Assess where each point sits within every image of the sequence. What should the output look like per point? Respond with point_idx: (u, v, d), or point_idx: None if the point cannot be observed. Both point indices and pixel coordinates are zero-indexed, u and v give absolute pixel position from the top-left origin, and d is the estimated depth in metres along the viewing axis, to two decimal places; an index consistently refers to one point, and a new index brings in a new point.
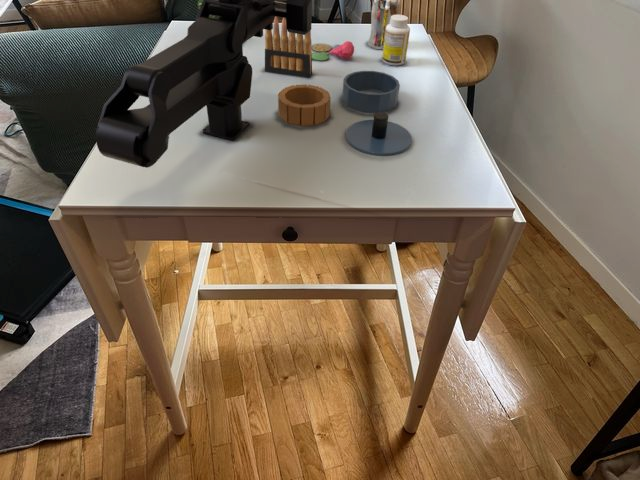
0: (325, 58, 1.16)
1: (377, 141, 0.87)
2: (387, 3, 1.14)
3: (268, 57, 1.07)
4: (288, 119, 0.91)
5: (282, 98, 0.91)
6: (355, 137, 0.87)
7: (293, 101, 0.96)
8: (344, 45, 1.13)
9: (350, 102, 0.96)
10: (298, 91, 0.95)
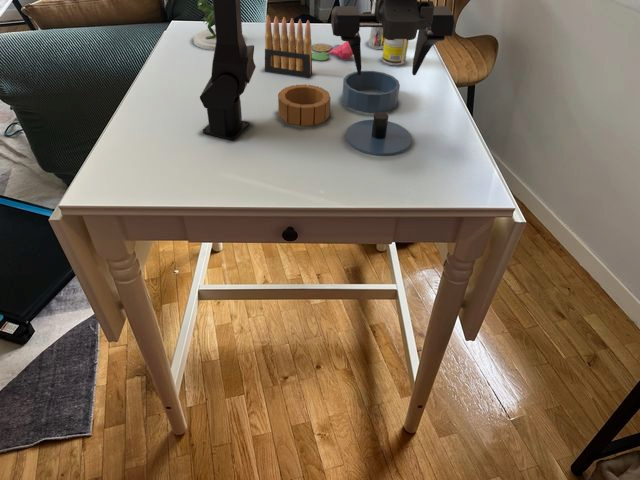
0: (325, 58, 1.16)
1: (377, 141, 0.87)
2: None
3: (268, 57, 1.07)
4: (288, 119, 0.91)
5: (282, 98, 0.91)
6: (355, 137, 0.87)
7: (293, 101, 0.96)
8: (344, 45, 1.13)
9: (350, 102, 0.96)
10: (298, 91, 0.95)
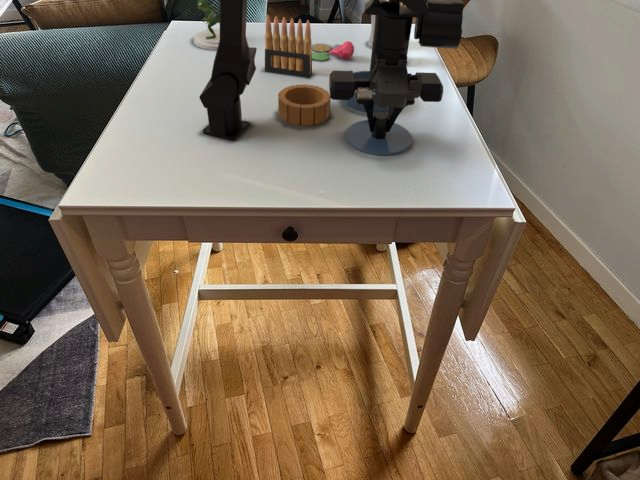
0: (325, 58, 1.16)
1: (377, 141, 0.87)
2: None
3: (268, 57, 1.07)
4: (288, 119, 0.91)
5: (282, 98, 0.91)
6: (355, 137, 0.87)
7: (293, 101, 0.96)
8: (344, 45, 1.13)
9: (350, 102, 0.96)
10: (298, 91, 0.95)
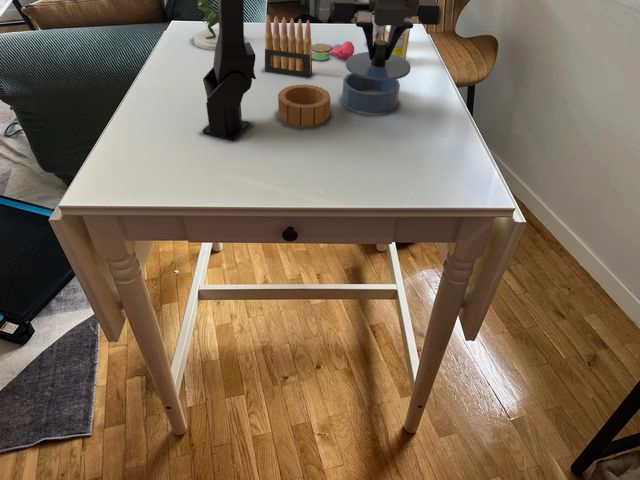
0: (325, 58, 1.16)
1: (377, 68, 0.88)
2: None
3: (268, 57, 1.07)
4: (288, 119, 0.91)
5: (282, 98, 0.91)
6: (355, 65, 0.89)
7: (293, 101, 0.96)
8: (344, 45, 1.13)
9: (350, 102, 0.96)
10: (298, 91, 0.95)
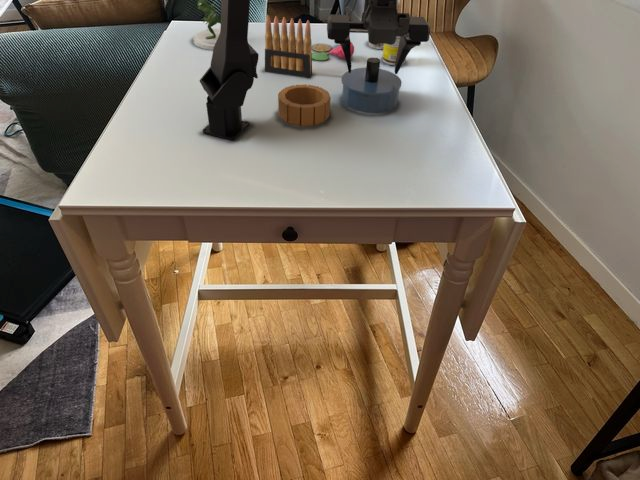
0: (325, 58, 1.16)
1: (370, 84, 0.95)
2: None
3: (268, 57, 1.07)
4: (288, 119, 0.91)
5: (282, 98, 0.91)
6: (350, 81, 0.96)
7: (293, 101, 0.96)
8: None
9: (350, 102, 0.96)
10: (298, 91, 0.95)
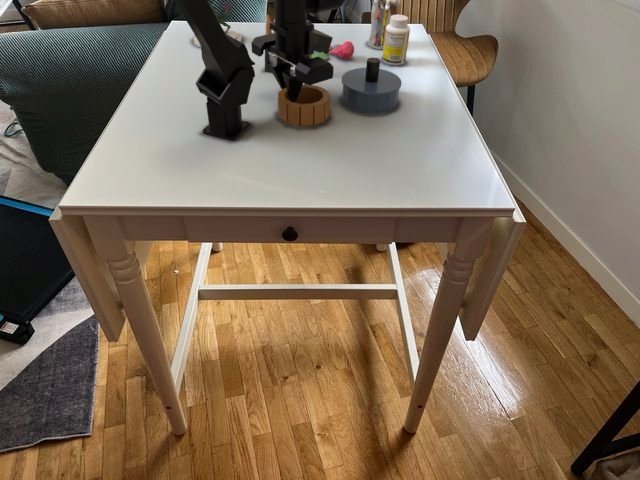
0: (325, 58, 1.16)
1: (370, 84, 0.95)
2: (387, 3, 1.14)
3: (268, 57, 1.07)
4: (288, 118, 0.91)
5: (282, 98, 0.91)
6: (350, 81, 0.96)
7: None
8: (344, 45, 1.13)
9: (350, 102, 0.96)
10: None
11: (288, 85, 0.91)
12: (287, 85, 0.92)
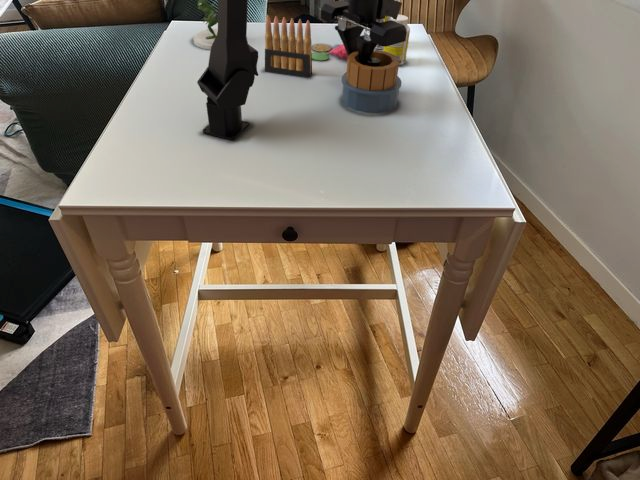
0: (325, 58, 1.16)
1: None
2: None
3: (268, 57, 1.07)
4: (358, 81, 0.93)
5: (352, 61, 0.93)
6: None
7: None
8: None
9: (350, 102, 0.96)
10: None
11: (361, 50, 0.93)
12: (360, 50, 0.93)
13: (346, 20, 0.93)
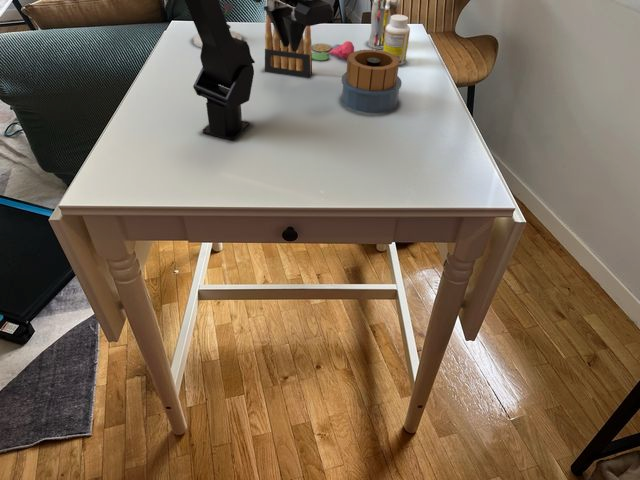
0: (325, 58, 1.16)
1: None
2: (387, 3, 1.14)
3: (268, 57, 1.07)
4: (358, 81, 0.93)
5: (352, 61, 0.93)
6: None
7: None
8: (344, 45, 1.13)
9: (350, 102, 0.96)
10: (366, 55, 0.97)
11: (289, 31, 0.89)
12: (288, 31, 0.90)
13: (274, 0, 0.89)
